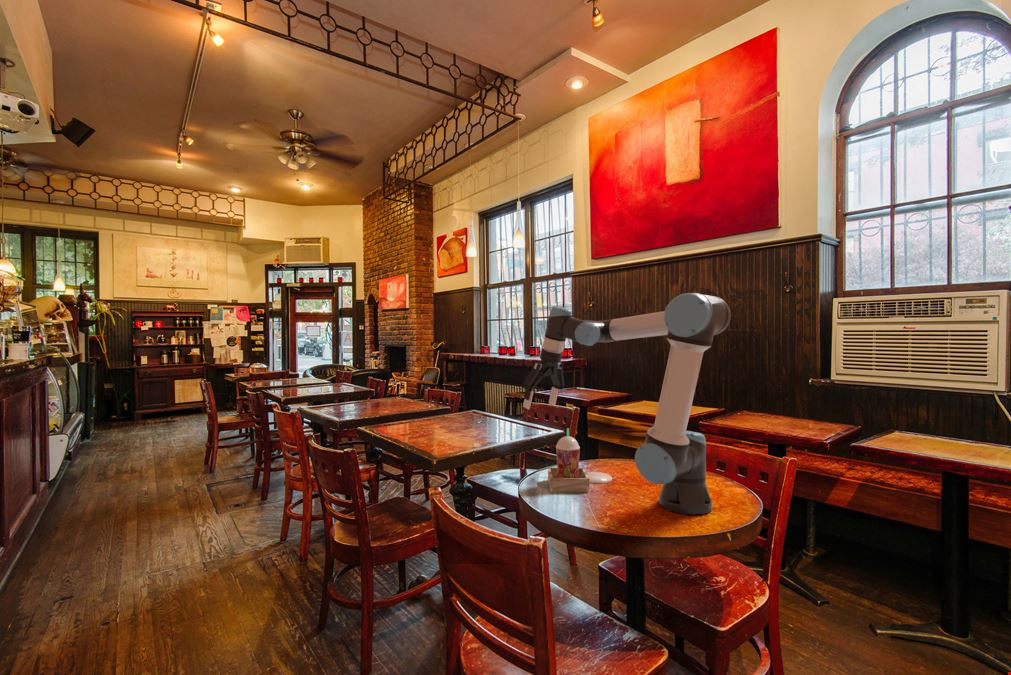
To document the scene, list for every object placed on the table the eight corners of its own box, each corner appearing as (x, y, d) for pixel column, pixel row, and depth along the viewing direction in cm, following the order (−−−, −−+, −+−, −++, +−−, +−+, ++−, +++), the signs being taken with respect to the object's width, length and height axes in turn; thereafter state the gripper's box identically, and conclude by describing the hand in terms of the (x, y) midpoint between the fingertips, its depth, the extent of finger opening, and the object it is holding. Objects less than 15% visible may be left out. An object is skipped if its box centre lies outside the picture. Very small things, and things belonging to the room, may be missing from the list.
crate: (589, 492, 154) (589, 478, 154) (550, 491, 155) (550, 478, 155) (583, 480, 167) (583, 467, 167) (547, 479, 168) (547, 467, 168)
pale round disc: (615, 483, 163) (615, 481, 163) (581, 483, 164) (581, 481, 164) (608, 473, 175) (608, 471, 175) (576, 473, 176) (576, 471, 176)
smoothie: (578, 482, 165) (578, 426, 165) (581, 489, 157) (581, 431, 157) (554, 482, 165) (554, 426, 165) (556, 489, 157) (556, 430, 157)
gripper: (566, 347, 174) (554, 399, 179) (520, 347, 157) (507, 405, 161) (582, 353, 169) (568, 407, 173) (535, 353, 152) (522, 413, 156)
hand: (539, 406), depth 167 cm, fingers open, 13 cm apart
